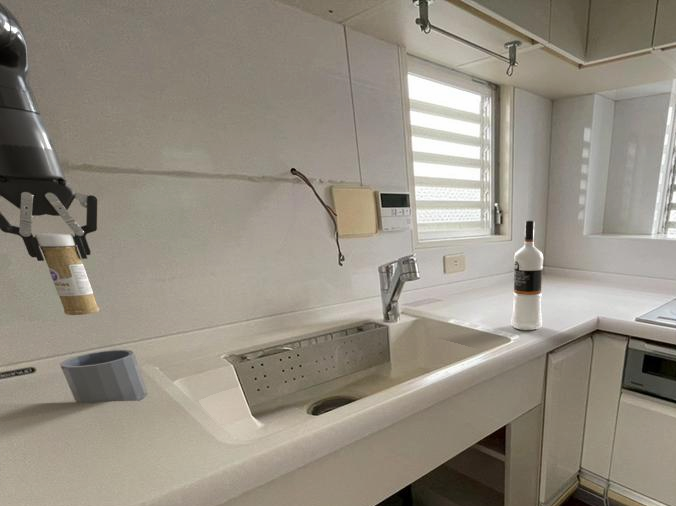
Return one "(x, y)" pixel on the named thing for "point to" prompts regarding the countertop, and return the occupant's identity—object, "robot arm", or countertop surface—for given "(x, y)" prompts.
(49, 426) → the countertop surface
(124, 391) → the blue-grey round container
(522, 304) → the vodka
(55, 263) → the sprinkles bottle
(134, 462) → the countertop surface
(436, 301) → the countertop surface
